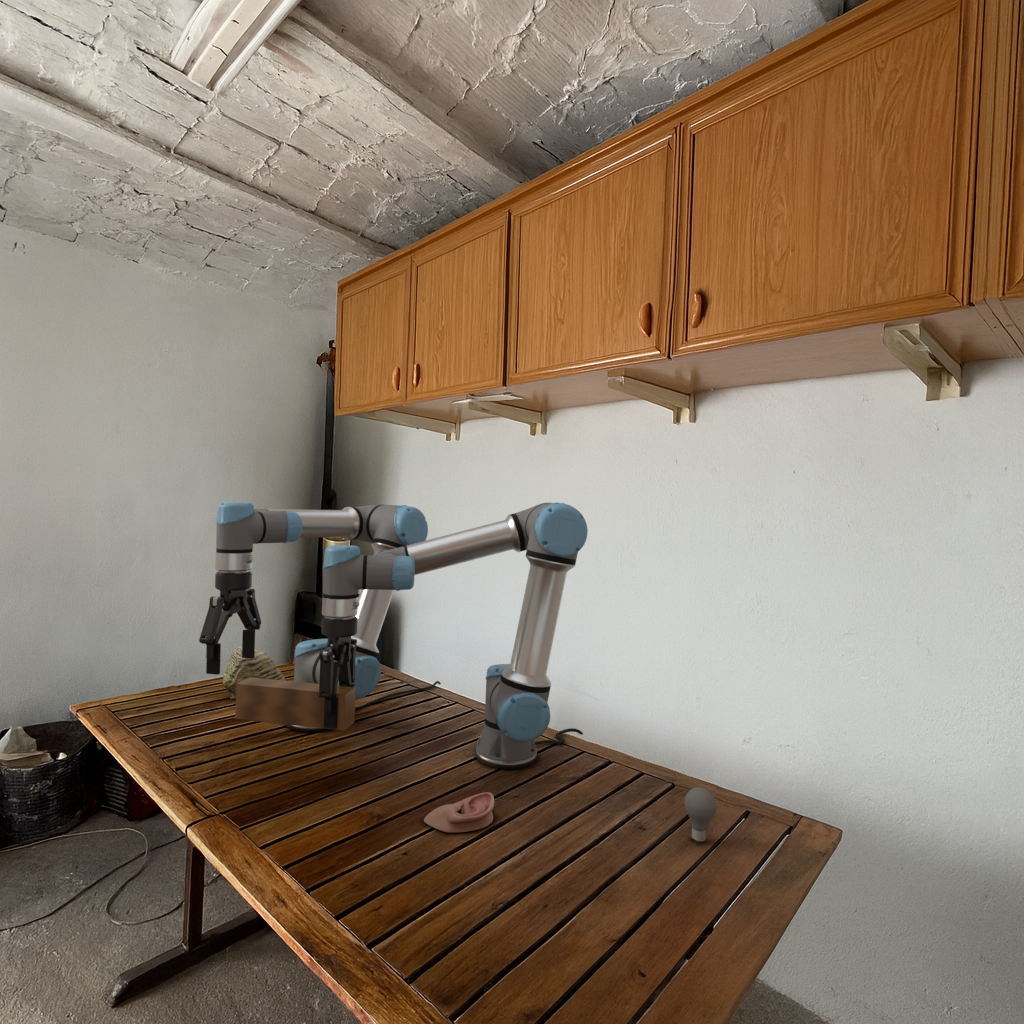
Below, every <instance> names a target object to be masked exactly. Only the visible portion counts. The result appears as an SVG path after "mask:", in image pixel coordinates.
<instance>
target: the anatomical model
mask: <svg viewBox="0 0 1024 1024" xmlns="http://www.w3.org/2000/svg"><path fill="white" fill-rule="evenodd" d="M494 808H495V797H494V794H493V793H492V792H490V791H486V792H481V793H477V794H474V795H471V796H468V797H466V798H463V799H462V800H459V801H456V802H455V803H449V804H448V803H447V804H444V805H441V806H439V807H436V808H435V809H433V810H432V811H430V812H429V813H428V814H426V815H425V817H424V818H423V822H424V823H425V824H426V825H428V826H429V827H431V828H433V829H435V830H438V831H441V832H444V833H450V834H453V833H454V834H455V833H464V832H472V831H477V830H480V829H483V828H485V827H487V826H489V825H491V824H492V822H493V820H494V813H493V810H494Z"/></svg>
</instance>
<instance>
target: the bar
mask: <svg viewBox="0 0 1024 1024" xmlns="http://www.w3.org/2000/svg"><path fill="white" fill-rule="evenodd" d="M355 691H356V687H347V686H337V692H336V697H338V715H337V728H336V729H333V728H324V702H325V698H321V697H319V684H315V683H304V682H294V680H286V681H283V680H273V679H262V678H252V677H250V678H247V679H245V680H243V681H241V682H239V683H237V684H236V698H235V713H234V715H235V716H234V717H235V718H234V719H235V720H240V721H242V720H243V721H249V722H260V723H269V724H278V725H285V726H286V725H295V726H304V727H314V728H323V729H329V730H332V731H333V730H334V731H341V732H345V731H346V730H348V729H349V728H350V727H351V726H352V725H353V724H355V723H356V721H355V720H356V717H355V716H356V709H355V707H356V700H355Z"/></svg>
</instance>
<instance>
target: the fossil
mask: <svg viewBox="0 0 1024 1024" xmlns="http://www.w3.org/2000/svg"><path fill="white" fill-rule="evenodd" d="M222 676H223V677H222V685H223V687H224V688H225V690H226V691H228V693H229V698H230V699H236V684H237V683H239V682H241V681H243V680H245V679H247V678H250V677H252V678H262V679H273V680H283V681H287V680H286V678H285V676H284V674H283V673H282V672H281V669H279V668H278V667H277V665H276V663H275V662H274V660H273V659H272V658H271V657H270V656H269V655H268V654H267V653H266V652H265V650H264V649H263V648H260V647H258V648H255V656H254V658H253V659H251V658H242V646H238V647H237V648H236V649H235V650H233V651H232V653H231V656H230V657H229V659H228V660H227V663H226V666H225V668H224V671H223V675H222Z"/></svg>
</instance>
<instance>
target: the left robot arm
mask: <svg viewBox="0 0 1024 1024" xmlns="http://www.w3.org/2000/svg"><path fill="white" fill-rule="evenodd" d="M215 525H216V537H215V539H216V540H215V551H216V552H215V564H214V569H215V570H216V571H217V572H216V573H215V575H214V576H215V578H214V580H215V581H214V582H215V583H214V587H215V589H216V590H218V591H219V595H218V596H210V598H209V604H208V609H207V612H206V616H205V619H204V623H203V626H202V629H201V632H200V635H199V638H198V642H199V643H201V645H202V644H204V645H206V647H205V648H206V649H205V650H206V653H205V655H206V656H205V658H206V667H205V674H206V675H215V676H216V675H217V676H218V675H220V674H221V655H222V654H221V653H222V646H221V645H222V643H219V642H220V639H221V637H222V635H223V633H224V630H225V628H226V626H227V624H228V621H229V619H230V618H231V617H233V615H234V614H237V616H238V618H239V620H240V622H241V623H242V625H243V627H244V629H243V630H242V640H241V641H242V643H241V644H242V645H241V647H242V658H251V659H253V658H254V656H255V649H256V630H257V631H259V630H260V629H261V626H262V619H261V615H260V611H259V608H258V603H257V600H256V590H255V588H252V586H253V572H251V570H252V569H253V561H254V558H253V551H254V550H253V549H254V545H257V544H286V543H294V542H296V541H298V540H299V539H301V538H303V539H304V538H305V539H307V538H342V539H343V540H346V541H359V542H366V543H371V547H372V549H373V552H374V553H373V555H372V556H376V555H377V554H378V553H380V552H381V551H383V550H386V549H395V548H399V547H404V546H407V545H410V544H414V543H418V542H422V541H426V540H427V538H428V534H429V526H428V522H427V520H426V516H425V514H424V513H423V511H421V510H420V509H419V508H417V507H415V506H410V505H406V504H402V505H397V504H380V503H379V504H369V505H359V506H345V507H343V508H342V509H293V508H292V509H290V508H289V509H288V508H287V509H285V508H255V506H254V504H253V503H252V502H242V501H241V502H240V501H224V502H223V501H222V502H220V503H219V504H218V506H217V511H216V521H215ZM394 592H395V590H374V589H366V590H363V589H360V591H359V594H358V602H359V603H360V605H359V607H358V614H357V615H356V616H355V617H357V619H358V626H357V634H356V635H354V636H351V639H357V645H356V662H355V682H354V683H352V684H355V687H356V691H355V701H357V700H361V699H364V698H366V696H368V695H370V694H371V693H372V692H374V690H375V689H376V687H377V686H378V684H379V682H380V679H381V676H382V668H381V663H380V662H379V660H378V657H379V654H380V651H379V649H378V647H377V642H378V639H379V636H380V633H381V630H382V627H383V624H384V622H385V620H386V619H385V618H386V616H387V612H388V611H389V610H388V609H389V607H390V604H391V601H392V598H393V595H394ZM327 641H328V638H317V639H308V640H304V641H300V642H299V643H298V644H297V645H296V646H295V650H294V655H293V657H294V672H293V673H294V674H293V681H294V682H304V683H315V684H319V682H320V656H319V653H320V651H325V650H326V649H327V648H326V646H327ZM335 662H337V661H335ZM437 684H438V685H442V683H441V681H439V680H436V681H434V683H433V684H432V685H431V684H430V685H429V686H425V687H419V688H413V689H408V690H403V691H397V692H394V693H393V692H392V693H390V694H386V695H383V696H381V697H379V698H376V699H373V700H371V701H368V702H366V703H364V704H361V705H358V706H355V710H359V709H364V708H366V707H368V706H370V705H372V704H375V703H377V702H379V701H383V700H385V699H387V698H391V697H395V696H398V695H404V694H409V693H415V692H419V691H426V690H429V689H432V688H434V687H436V685H437ZM337 686H339V678H338V685H337ZM285 726H286V728H287V729H289V730H291V731H294V732H295V731H296V732H301V733H316V732H325V731H329V730H330V729H323V728H314V727H304V726H295V725H286V724H285Z"/></svg>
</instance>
